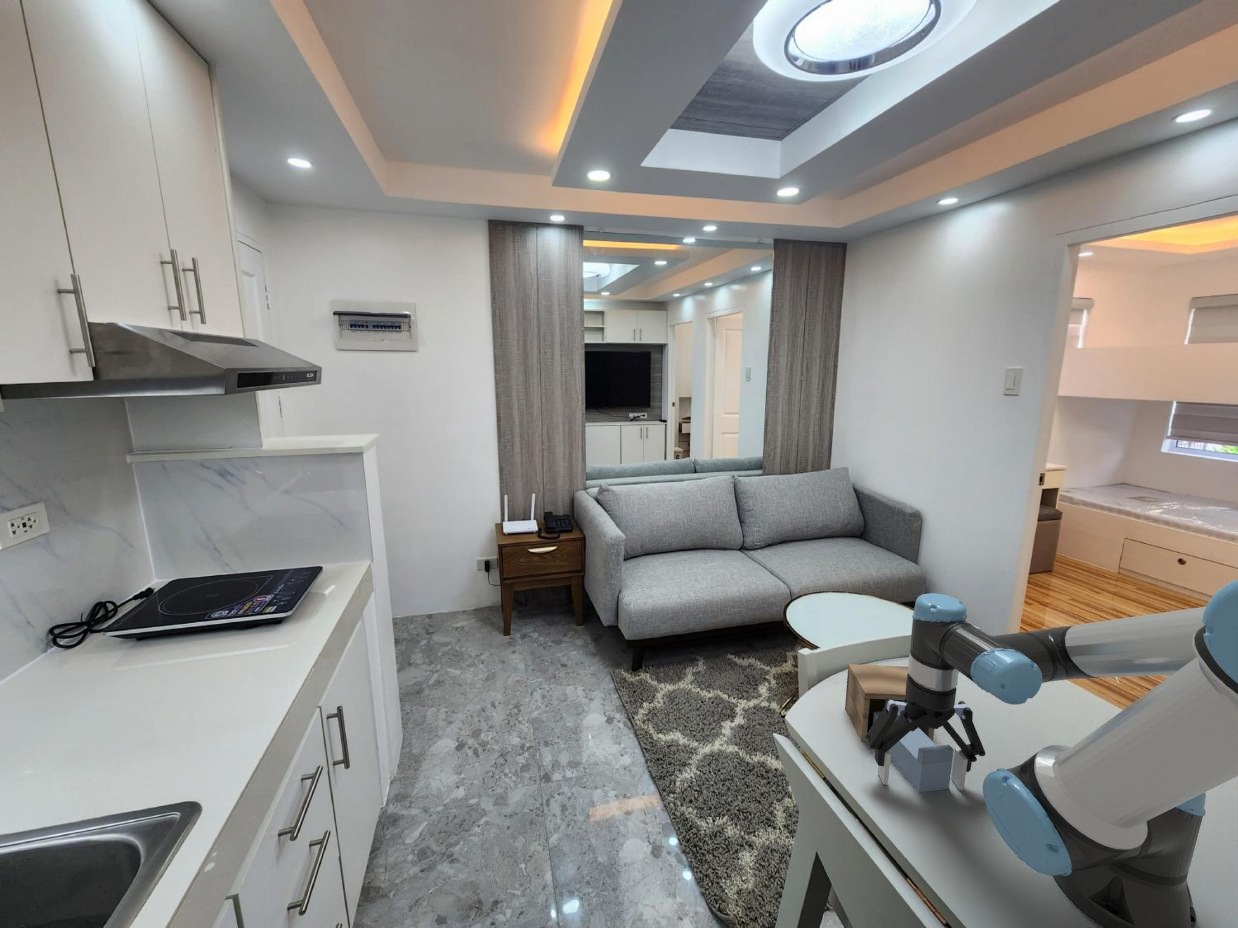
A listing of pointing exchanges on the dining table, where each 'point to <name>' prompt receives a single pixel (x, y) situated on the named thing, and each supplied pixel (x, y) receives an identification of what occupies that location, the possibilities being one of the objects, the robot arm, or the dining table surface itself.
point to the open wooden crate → (874, 693)
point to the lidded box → (922, 760)
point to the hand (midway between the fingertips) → (919, 781)
